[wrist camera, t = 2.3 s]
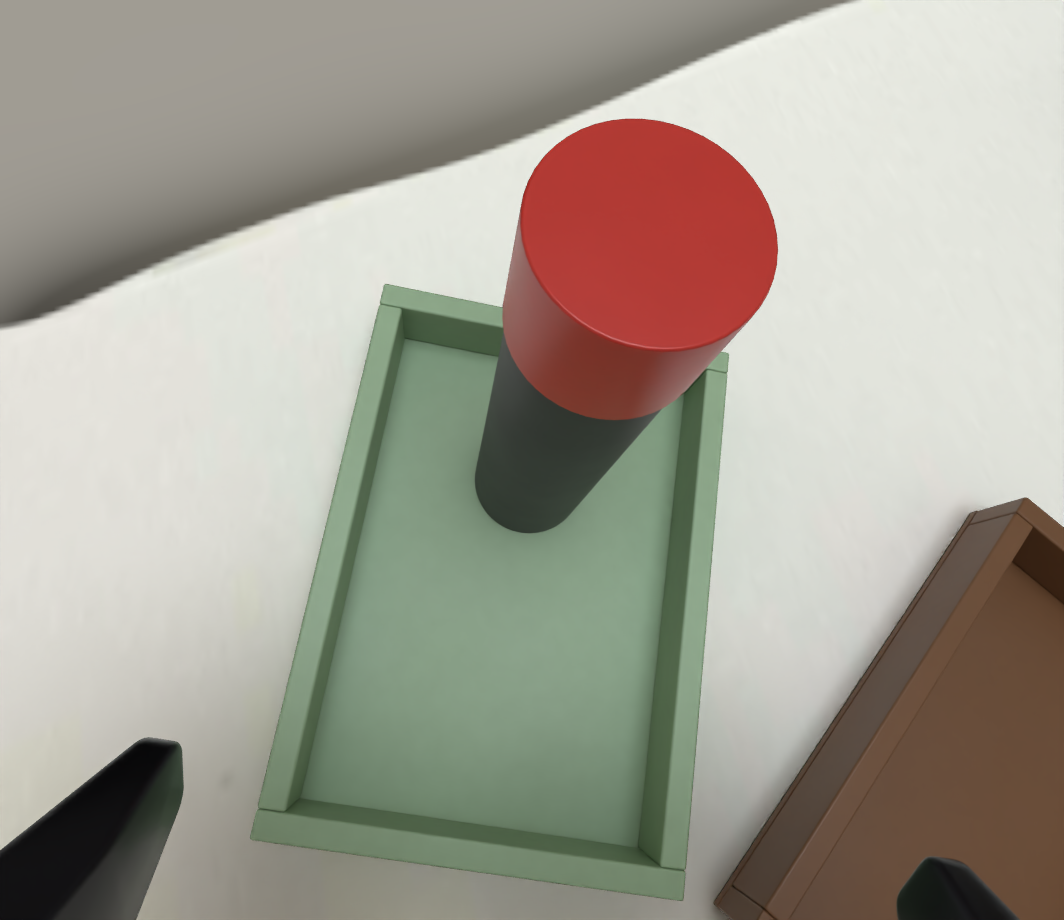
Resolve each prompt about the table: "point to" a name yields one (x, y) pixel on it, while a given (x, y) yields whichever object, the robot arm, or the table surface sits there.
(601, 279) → the thermos
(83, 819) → the robot arm
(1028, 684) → the walnut tray
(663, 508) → the green tray
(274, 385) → the table surface
